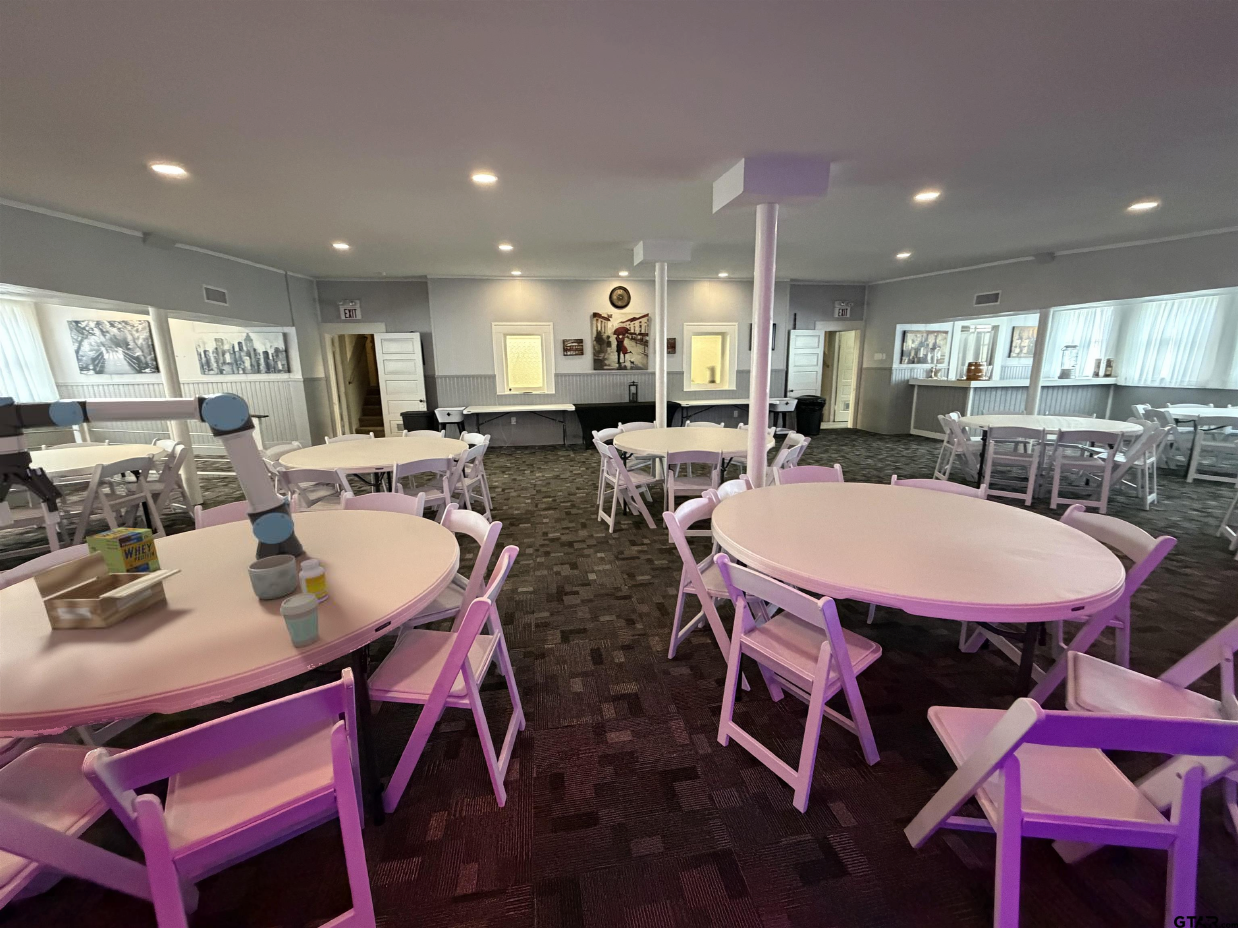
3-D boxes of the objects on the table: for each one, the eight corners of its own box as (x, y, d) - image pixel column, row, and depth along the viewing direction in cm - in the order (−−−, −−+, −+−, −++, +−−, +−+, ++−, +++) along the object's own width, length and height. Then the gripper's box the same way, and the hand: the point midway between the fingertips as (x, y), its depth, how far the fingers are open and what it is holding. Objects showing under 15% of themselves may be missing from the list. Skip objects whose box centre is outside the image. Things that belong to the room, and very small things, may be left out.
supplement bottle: (333, 596, 152) (327, 558, 149) (314, 606, 145) (307, 567, 143) (318, 593, 154) (311, 556, 151) (298, 603, 148) (291, 564, 145)
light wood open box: (188, 597, 153) (182, 569, 151) (131, 628, 136) (123, 596, 134) (117, 599, 154) (109, 570, 152) (51, 629, 136) (41, 597, 134)
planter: (264, 606, 146) (258, 573, 144) (246, 596, 153) (240, 565, 151) (307, 590, 157) (302, 559, 154) (289, 581, 163) (283, 552, 161)
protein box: (128, 580, 168) (117, 538, 165) (95, 577, 171) (84, 536, 168) (161, 567, 178) (152, 528, 175) (129, 565, 181) (120, 526, 178)
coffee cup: (298, 633, 131) (291, 593, 128) (330, 631, 131) (324, 591, 129) (279, 651, 122) (271, 608, 120) (314, 649, 123) (306, 606, 121)
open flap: (43, 598, 134) (19, 601, 135) (108, 571, 151) (86, 574, 152) (34, 574, 133) (9, 577, 133) (101, 550, 150) (78, 553, 150)
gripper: (67, 447, 137) (87, 517, 142) (-19, 451, 137) (4, 521, 142) (36, 452, 130) (58, 526, 134) (-55, 456, 130) (-30, 529, 134)
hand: (30, 523), depth 138 cm, fingers open, 13 cm apart
